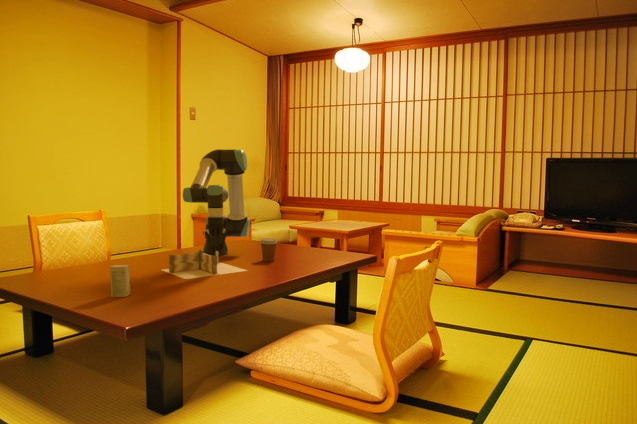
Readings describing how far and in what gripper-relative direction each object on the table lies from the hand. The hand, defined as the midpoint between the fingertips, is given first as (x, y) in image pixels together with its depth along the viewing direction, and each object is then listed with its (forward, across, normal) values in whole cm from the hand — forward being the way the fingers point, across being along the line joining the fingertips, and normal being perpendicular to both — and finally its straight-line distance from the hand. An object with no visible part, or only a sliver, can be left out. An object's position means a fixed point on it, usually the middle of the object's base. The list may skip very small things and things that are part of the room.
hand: (215, 263), depth 247 cm
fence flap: (+4, +3, -3) cm, 5 cm away
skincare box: (+4, +52, +18) cm, 56 cm away
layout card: (+5, +2, -8) cm, 9 cm away
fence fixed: (+4, +10, -12) cm, 16 cm away
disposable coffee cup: (+5, -41, -14) cm, 43 cm away
